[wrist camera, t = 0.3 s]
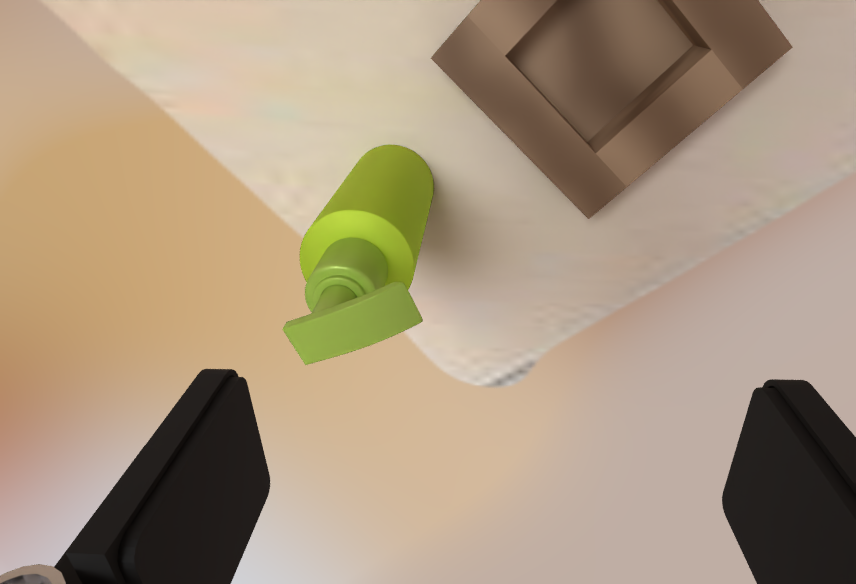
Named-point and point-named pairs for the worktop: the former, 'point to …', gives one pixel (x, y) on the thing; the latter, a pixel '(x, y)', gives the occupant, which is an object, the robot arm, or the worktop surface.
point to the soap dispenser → (364, 256)
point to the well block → (606, 79)
